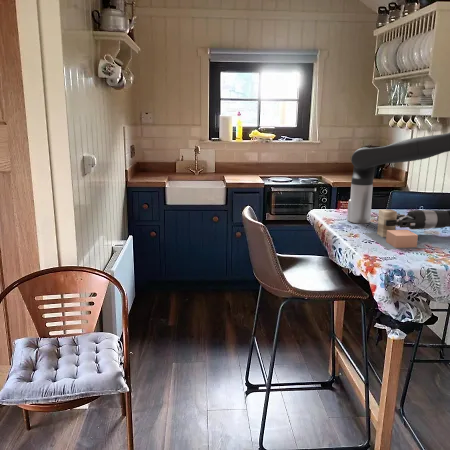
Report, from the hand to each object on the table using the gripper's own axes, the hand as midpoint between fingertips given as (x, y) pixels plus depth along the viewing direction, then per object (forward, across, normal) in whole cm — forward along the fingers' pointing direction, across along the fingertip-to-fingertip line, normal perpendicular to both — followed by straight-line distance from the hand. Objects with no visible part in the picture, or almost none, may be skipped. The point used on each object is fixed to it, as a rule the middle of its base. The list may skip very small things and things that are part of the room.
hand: (381, 220), depth 180 cm
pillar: (-2, 0, +6) cm, 6 cm away
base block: (-2, +13, +6) cm, 14 cm away
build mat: (-2, +7, +7) cm, 10 cm away
